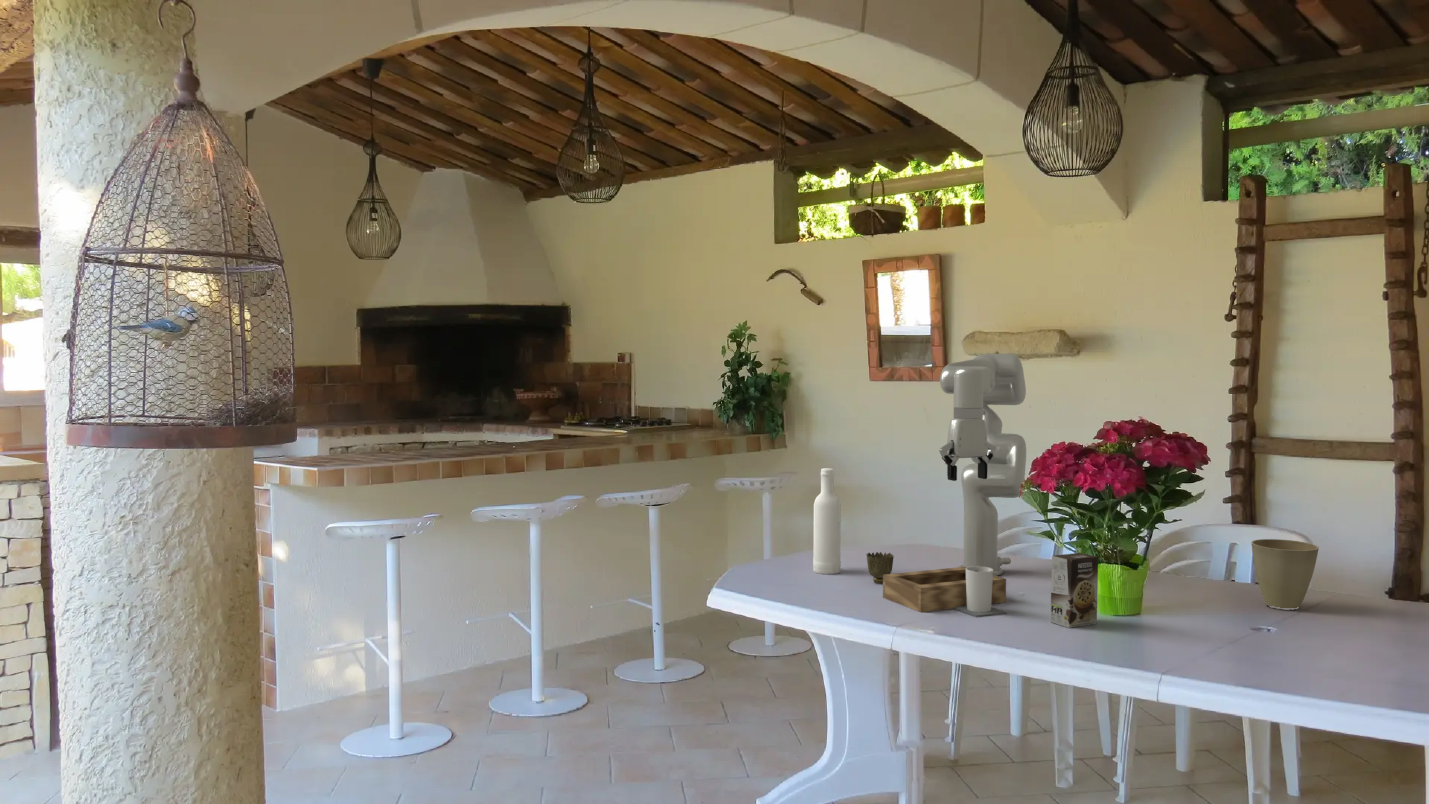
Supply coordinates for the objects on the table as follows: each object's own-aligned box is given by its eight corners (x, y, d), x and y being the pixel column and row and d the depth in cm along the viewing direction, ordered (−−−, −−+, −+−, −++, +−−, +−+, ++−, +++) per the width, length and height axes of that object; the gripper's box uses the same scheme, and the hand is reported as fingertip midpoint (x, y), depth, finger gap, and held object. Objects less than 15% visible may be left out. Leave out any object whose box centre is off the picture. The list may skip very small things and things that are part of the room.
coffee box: (1069, 628, 251) (1071, 559, 250) (1049, 622, 257) (1050, 554, 256) (1098, 624, 255) (1099, 556, 255) (1077, 618, 261) (1078, 551, 260)
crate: (964, 588, 293) (965, 566, 292) (1005, 602, 277) (1006, 578, 277) (882, 597, 282) (883, 574, 282) (920, 612, 267) (920, 588, 266)
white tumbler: (961, 610, 267) (961, 570, 266) (970, 604, 273) (970, 565, 272) (988, 613, 263) (988, 573, 263) (996, 608, 269) (996, 568, 269)
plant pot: (1241, 607, 271) (1243, 544, 271) (1260, 597, 282) (1261, 536, 281) (1307, 617, 261) (1309, 552, 260) (1324, 607, 272) (1325, 544, 271)
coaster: (983, 605, 274) (983, 603, 274) (1006, 613, 265) (1006, 611, 265) (953, 608, 270) (953, 607, 270) (976, 617, 262) (976, 615, 262)
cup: (895, 585, 296) (895, 556, 296) (868, 585, 296) (868, 556, 296) (891, 579, 304) (891, 551, 303) (865, 579, 304) (865, 551, 303)
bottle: (821, 567, 320) (822, 466, 319) (845, 570, 316) (846, 468, 314) (808, 572, 314) (808, 469, 312) (831, 575, 309) (832, 471, 308)
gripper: (985, 413, 292) (985, 476, 293) (932, 414, 285) (931, 479, 286) (1003, 414, 285) (1003, 479, 286) (949, 416, 278) (948, 482, 279)
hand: (967, 479), depth 286 cm, fingers open, 9 cm apart
